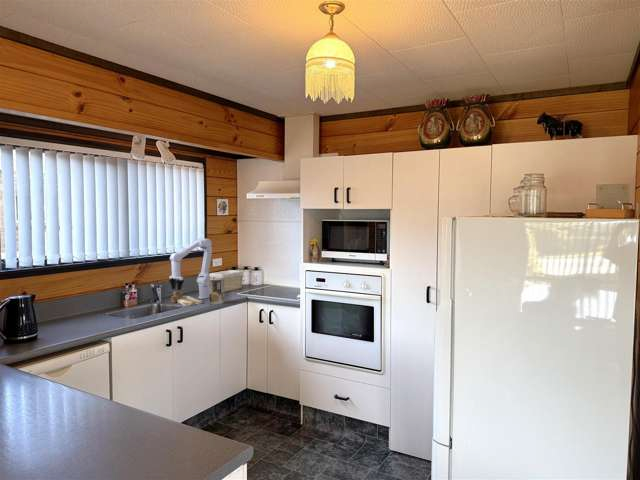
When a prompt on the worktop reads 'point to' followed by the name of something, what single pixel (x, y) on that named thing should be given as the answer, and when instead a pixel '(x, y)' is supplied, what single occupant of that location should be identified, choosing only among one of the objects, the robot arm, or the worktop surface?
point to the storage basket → (229, 279)
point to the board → (189, 301)
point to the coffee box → (216, 291)
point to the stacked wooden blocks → (177, 296)
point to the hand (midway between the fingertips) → (176, 289)
